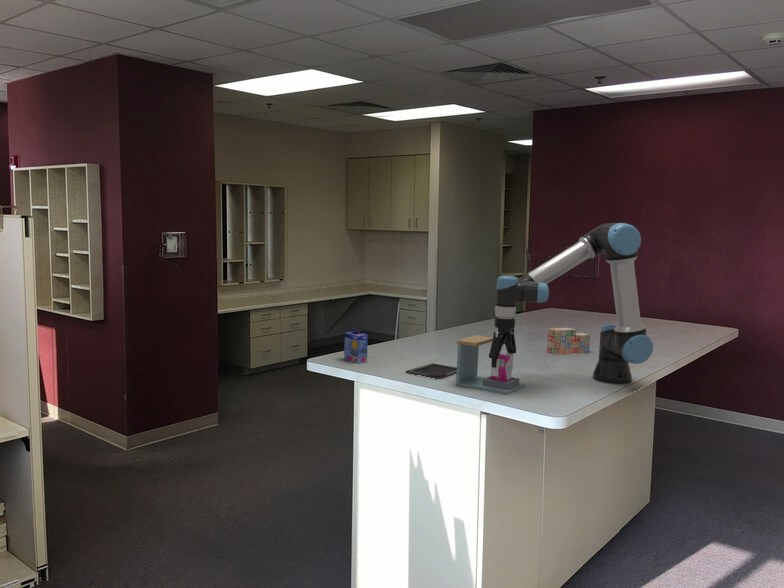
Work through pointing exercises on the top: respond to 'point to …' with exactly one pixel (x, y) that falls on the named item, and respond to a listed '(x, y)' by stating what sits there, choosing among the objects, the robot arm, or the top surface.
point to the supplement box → (504, 368)
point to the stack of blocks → (567, 341)
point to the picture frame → (434, 371)
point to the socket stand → (469, 367)
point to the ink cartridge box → (355, 346)
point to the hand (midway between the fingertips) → (501, 372)
